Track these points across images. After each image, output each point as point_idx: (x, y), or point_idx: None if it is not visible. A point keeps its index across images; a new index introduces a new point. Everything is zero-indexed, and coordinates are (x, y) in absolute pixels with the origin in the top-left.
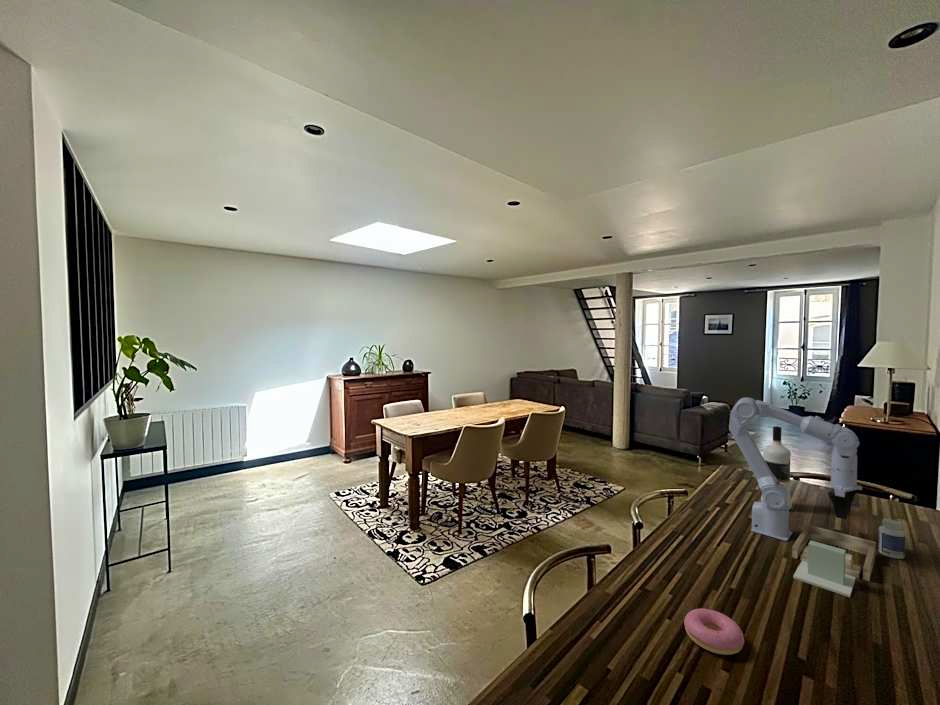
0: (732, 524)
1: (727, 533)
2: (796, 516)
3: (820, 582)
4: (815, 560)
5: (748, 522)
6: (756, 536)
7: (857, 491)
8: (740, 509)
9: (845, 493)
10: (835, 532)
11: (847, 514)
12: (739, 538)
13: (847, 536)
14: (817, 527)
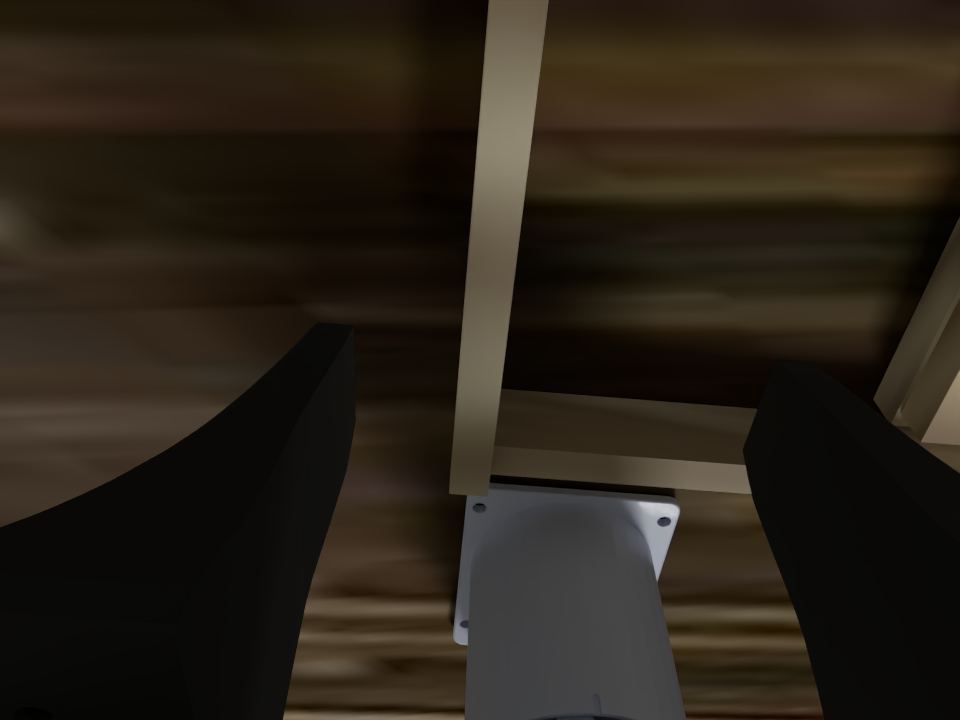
0: None
1: (754, 712)
2: (17, 479)
3: None
4: None
5: (465, 665)
6: (698, 617)
7: (189, 585)
8: None
9: (260, 642)
10: (492, 288)
11: (820, 395)
12: (798, 670)
13: (525, 186)
14: (466, 417)
